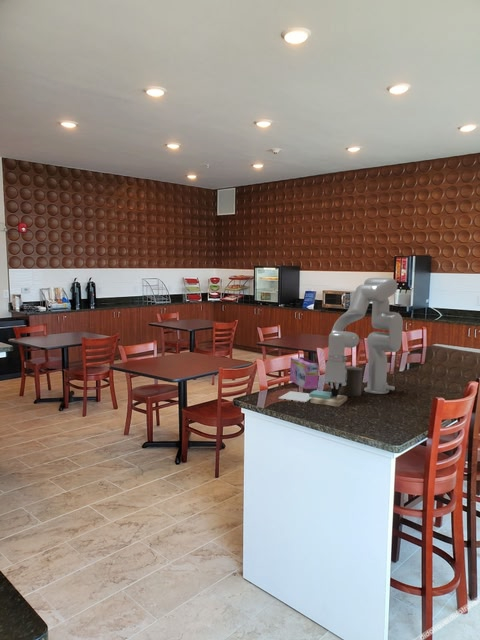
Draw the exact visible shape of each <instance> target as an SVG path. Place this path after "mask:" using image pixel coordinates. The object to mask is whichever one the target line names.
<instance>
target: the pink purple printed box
mask: <svg viewBox="0 0 480 640" xmlns="http://www.w3.org/2000/svg"><path fill="white" fill-rule="evenodd" d="M319 373H320V364H319V363H318V362H315V361H312V360H310V359H308V358H305V357H303V356H300V357H299V358H297V357H290V369H289V381H291V382H292V383H294V384H295V385H297V386H299V387H301V388H303V389H305V390H316V389H317V390H318V389H319V378H320V377H319V376H320V375H319Z"/></svg>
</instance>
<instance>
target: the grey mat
mask: <svg viewBox="0 0 480 640" xmlns="http://www.w3.org/2000/svg"><path fill="white" fill-rule="evenodd" d="M309 394H310V393H307V392H299V391H291V390H289V391H288V392H287V393H285V394H283V395H280V396H279V397H278V400H284V399H286V400H285V401H291V400H293V401H292V402H298V401H300V402H299V403H305V402H306V403H307V402H309V401H310V398H312V397H309Z"/></svg>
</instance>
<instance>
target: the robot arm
mask: <svg viewBox="0 0 480 640" xmlns="http://www.w3.org/2000/svg"><path fill="white" fill-rule="evenodd" d="M397 290H398V283H397V280H395V278H392V277H391V278H390V277H371V278H367V279H366V280H365V281H364V283H363V284H360V285H357V286H356V289H355V291H354V293H353V296H352V299H351V302H350V304H349V307H348V309H347V311H346V312H344V313H343V314H341V316H340V317H338V318H337V320H336V321H335V322H334V325H333V327H332V328H331V329H332V330H331V331H330V333H329V335H328V353H327V354H328V355H327V356H328V357H327V359H328V360H326V363H325V369H324V376H323V377H324V381H323V383H324V384H326V385H328V386H329V388H331V392H332V397H337V395H339V390H340V388H342V386H346V385H347V383H346V381H347V367H348V366H347V362H346V361H348V357H347V356H346V355H345V349H346V348H349V349H350V348H351V349H352V348H355V347H357V346H358V345H359V343H360V337H359V335H358V334H357V333H355V332H352V331H346V330H345V328H346V327H347V326H348V325H350V324H352V323H354V322H356V321H358V320H361V319H363V318H365V316H366V314H367V311H368V307H369V305H370V303H371V302H372V305H371V306H372V307H371V308H372V309H371V326H372V328H374V329H377V330H381V331H373V332H370V333H369V335H368V336H367V338H366V339H367V340H366V343H367V349H368V350H367V351H368V360H367V361H368V362H367V363H368V364H367V384H366V385H367V386H366V387H364V389H363V390H364V391H365V392H366V393H370V394H374V395H375V394H376V395H377V394H380V395H383V394H384V395H385V394H388V393H389V392H390V390H391V391H395V386H394V385H389V383H388V382H387V377H388V376H387V373H388V372H387V371H388V370H387V368H388V357H387V353H386V352H390V353H397V352H398V351H399V350H400V349H401V346H402V340H403V327H404V321H403V317H402V315H401V314H400V313H399V312H395V311H390V299H389V298H390V297H392V296H393V295H394V294H395V293H396V292H397ZM344 330H345V331H344ZM382 330H384V331H388V332H382ZM335 383H336V384H335Z"/></svg>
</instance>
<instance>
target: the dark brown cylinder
mask: <svg viewBox="0 0 480 640" xmlns="http://www.w3.org/2000/svg"><path fill="white" fill-rule="evenodd" d="M362 378H363V367H358V366H353V365H351V366H347V381H346V383H347V385H346V386H341V394H342V395H343V396H347V397H360V396H361V395H362V380H363V379H362Z"/></svg>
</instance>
